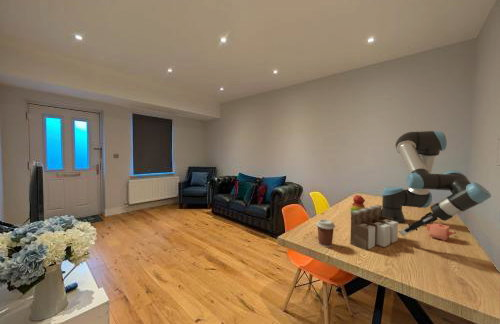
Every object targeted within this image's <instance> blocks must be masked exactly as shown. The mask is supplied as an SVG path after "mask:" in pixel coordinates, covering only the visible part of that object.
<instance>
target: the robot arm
mask: <svg viewBox="0 0 500 324" xmlns="http://www.w3.org/2000/svg"><path fill="white" fill-rule="evenodd" d="M447 143H448V141H447V137H446V135H445V133H444V132H443V131H441V130H438V131H437V130H424V131H409V132H406V133H403V134H401V135H400V136H399V137H398V138H397V140H396V142H395V144H394V145H395V150H396V151H397V153H398V154H400V156H401V158H402V160H403V163H404V164H405V167H406V169H407V171H408V174H407V176H406V184H407V189H404V188H403V187H400V186H389V187H388V186H387V187H385V188H383V190H382V193H381V194H382V202H381V204H382V205H381V206H382V207H381V216H384V217H388V218H393V221H395V222H398V224H401V223H405V220H406V217H405V215H404V212H403V207H410V208H411V207H412V208H418V209H422V208H423V209H425V208H428V207H430V211H429V212H428V213H426V214H425V215H423V216H422V217H420V219H418V220H416V221H414V222H413V223H408V224H407V226H406V227H404V228H402V229H401V230H398V234H400V235H401V237H404V236H406V235H408V234H409V233H412V232H414V231H418V229H419V228H420V227H422V226H424V225H427V224H430V223H435V221H437V220H438V219H439V220H441V221H444V222H446V221H448V220H450V219H452V218H453V217H455V216H457V215H459V216H460V215H463V212H466V211H467V210H469V209H471V208H473V207H476V206H479V205H480V204H483V203H484V202H485V201H487V200H488V199H491V197H492V193H490V191H489V190H487V189H486V188H485V187H484V186H482V185H481V184H479V183H478V182H470V181H469V179H468V177H467V176H466V175H464V173H462V172H461V171H460V170H456V169H455V170H448V171H445V172H444V173H432V170H433V165H434V163H435V162H434V161H435V158H436V157H437V156H439V155H440V152H442V151H445V150H446V149H447ZM430 190H436V191H450V192H451V194H450V195H447V196H446V197H444V198H443V199H441V200H439V201H438V202H436V203H434V204H433V205H431V204H432V200H433V195H432V193H431V191H430Z"/></svg>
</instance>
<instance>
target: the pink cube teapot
mask: <svg viewBox="0 0 500 324" xmlns="http://www.w3.org/2000/svg"><path fill="white" fill-rule="evenodd" d="M450 229H451V228H450V225H445V224H442V223H435V222H432V224H430V223H429V224H426V231H429V237H430V238H432V239H438V240H439V239H440V240H441V241H442V242H446V241H447V240H448V239H449V238H450V236H452V235H456V234H457V232H456V231H455V230H452V231H450Z"/></svg>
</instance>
